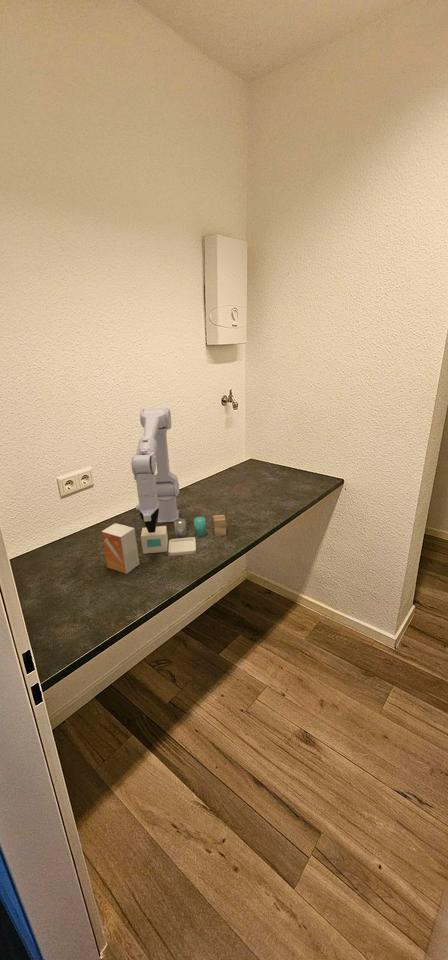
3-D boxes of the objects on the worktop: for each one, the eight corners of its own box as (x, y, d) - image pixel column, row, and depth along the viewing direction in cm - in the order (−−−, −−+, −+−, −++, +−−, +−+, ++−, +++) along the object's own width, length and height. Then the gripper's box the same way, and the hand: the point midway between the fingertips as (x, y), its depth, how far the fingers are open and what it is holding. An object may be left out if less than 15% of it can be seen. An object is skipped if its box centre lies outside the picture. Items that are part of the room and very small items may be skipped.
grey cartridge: (175, 533, 143) (174, 518, 140) (186, 532, 143) (185, 517, 141) (175, 539, 139) (173, 523, 137) (186, 538, 139) (185, 523, 137)
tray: (169, 542, 137) (169, 539, 136) (195, 540, 138) (195, 537, 137) (168, 556, 128) (168, 553, 128) (196, 553, 129) (196, 550, 129)
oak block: (214, 530, 144) (213, 515, 142) (225, 529, 144) (224, 514, 142) (215, 535, 140) (214, 520, 138) (226, 534, 140) (225, 519, 138)
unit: (144, 544, 137) (142, 527, 134) (168, 542, 137) (166, 525, 135) (142, 554, 130) (140, 536, 128) (167, 552, 131) (165, 534, 129)
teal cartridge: (194, 532, 143) (193, 517, 141) (205, 531, 143) (204, 516, 141) (195, 537, 139) (194, 522, 137) (206, 536, 140) (205, 521, 138)
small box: (106, 568, 124) (100, 531, 119) (121, 558, 129) (115, 522, 124) (126, 574, 120) (120, 536, 115) (140, 564, 125) (135, 527, 120)
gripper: (136, 484, 128) (141, 522, 132) (131, 502, 114) (136, 544, 119) (158, 483, 128) (162, 520, 133) (155, 501, 115) (160, 542, 119)
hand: (151, 531), depth 126 cm, fingers closed
